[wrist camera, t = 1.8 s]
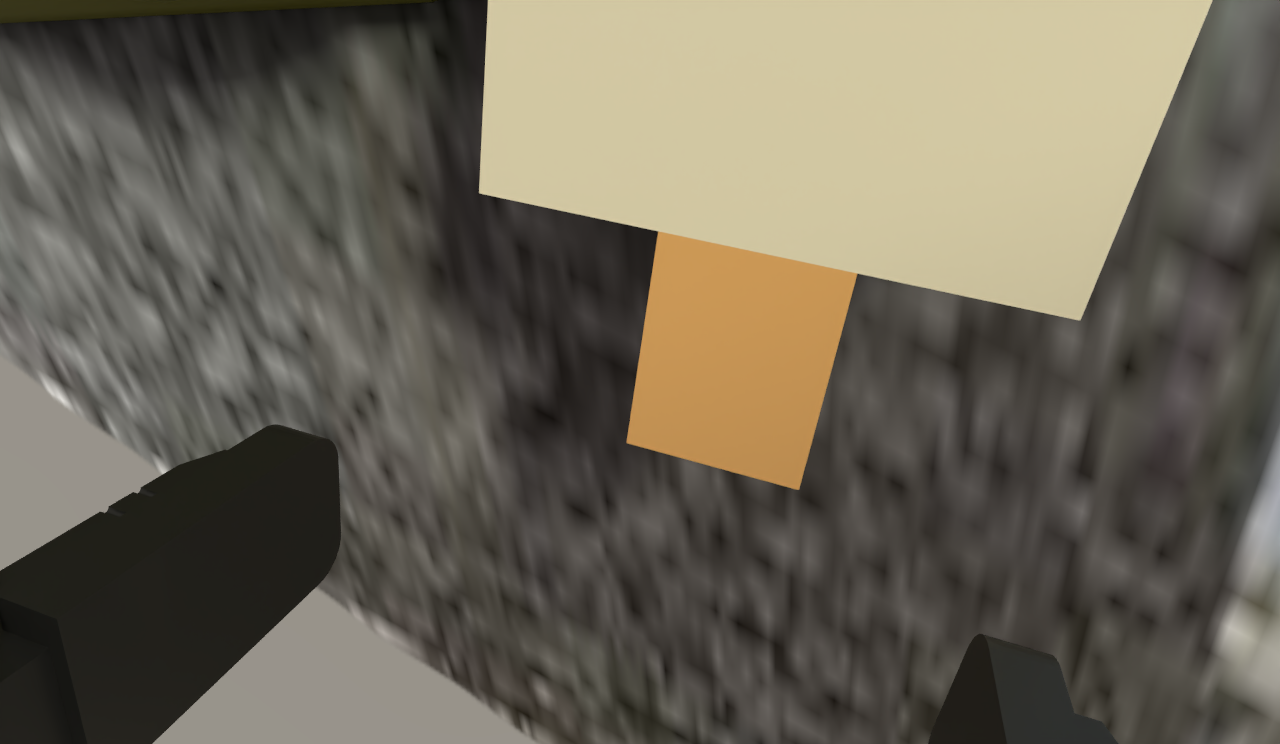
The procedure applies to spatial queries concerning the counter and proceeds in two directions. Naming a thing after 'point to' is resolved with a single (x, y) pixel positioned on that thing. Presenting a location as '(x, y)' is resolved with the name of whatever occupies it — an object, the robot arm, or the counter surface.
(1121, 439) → the counter surface
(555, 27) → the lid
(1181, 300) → the counter surface
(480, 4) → the counter surface
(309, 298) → the counter surface
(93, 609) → the robot arm
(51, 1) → the spaceship
